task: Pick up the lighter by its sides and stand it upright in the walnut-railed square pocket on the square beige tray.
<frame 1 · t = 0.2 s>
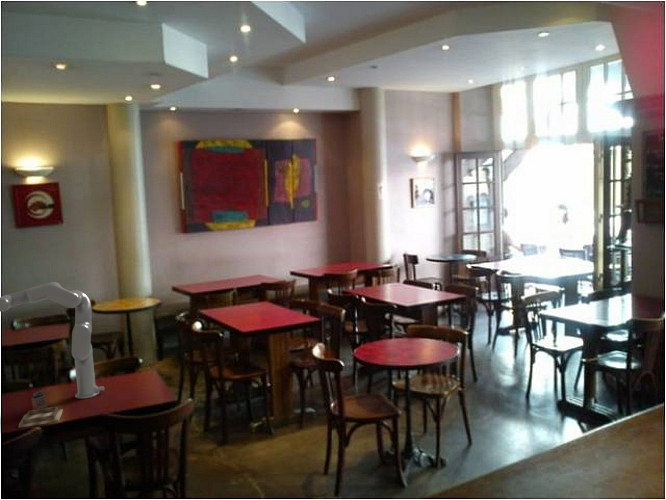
square beige tray: (41, 419, 308), on the table
lighter: (40, 410, 322), on the table
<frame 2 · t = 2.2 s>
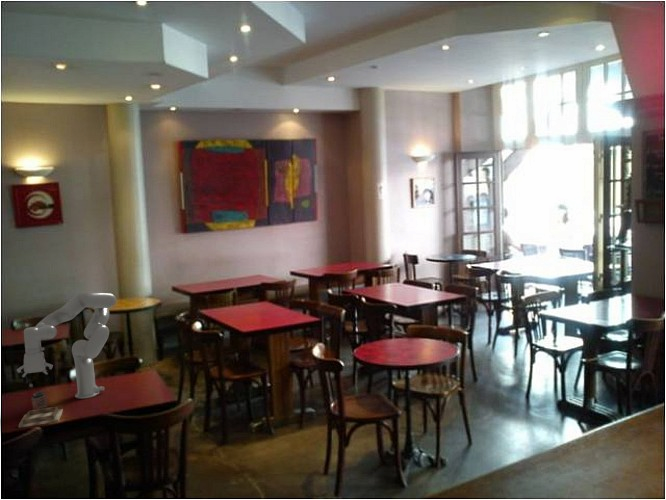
hand: (36, 382, 320), 15 cm above the table, tool pointing down, fingers open, 9 cm apart
nothing on the table moved.
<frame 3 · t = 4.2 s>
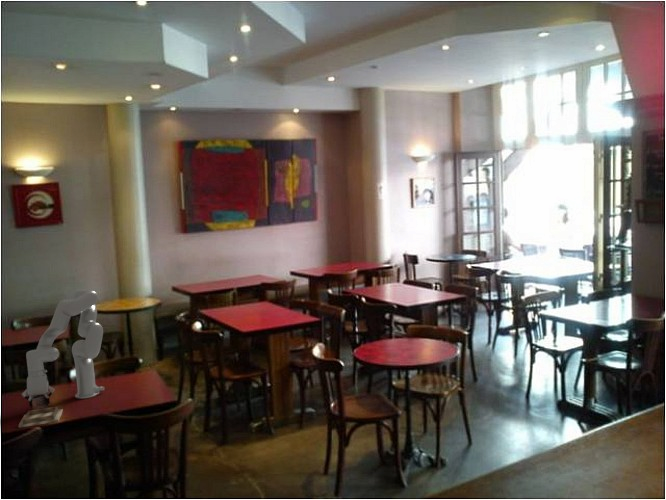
hand: (39, 405, 322), 2 cm above the table, tool pointing down, fingers closed on lighter, 6 cm apart
lighter: (40, 410, 322), on the table, touching gripper
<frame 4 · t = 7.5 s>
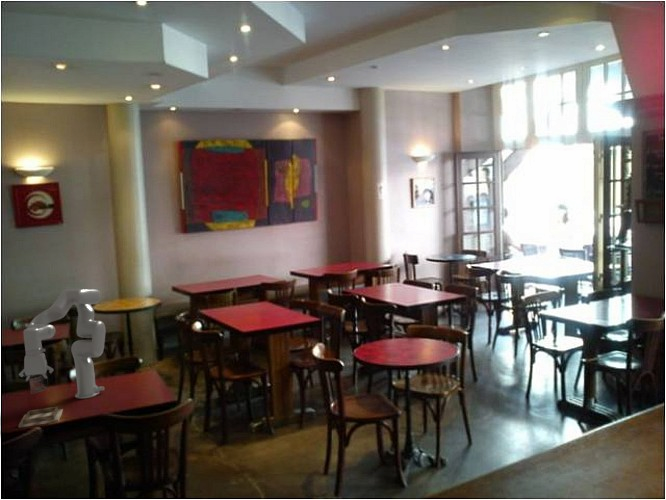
hand: (37, 386, 306), 17 cm above the table, tool pointing down, fingers closed on lighter, 6 cm apart
lighter: (38, 391, 306), point 15 cm above the table, touching gripper
when the fingers open (4 cm above the table, at t = 11.0 s): lighter stays where it is, resting on square beige tray.
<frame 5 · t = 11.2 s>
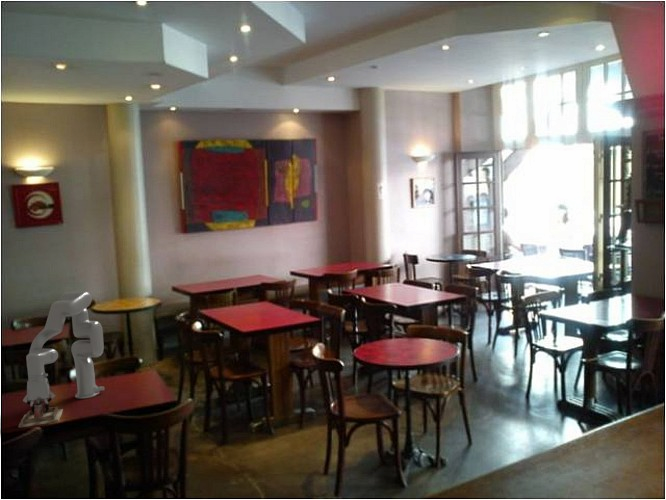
hand: (40, 411, 307), 4 cm above the table, tool pointing down, fingers open, 5 cm apart
lighter: (38, 418, 306), point 1 cm above the table, touching square beige tray
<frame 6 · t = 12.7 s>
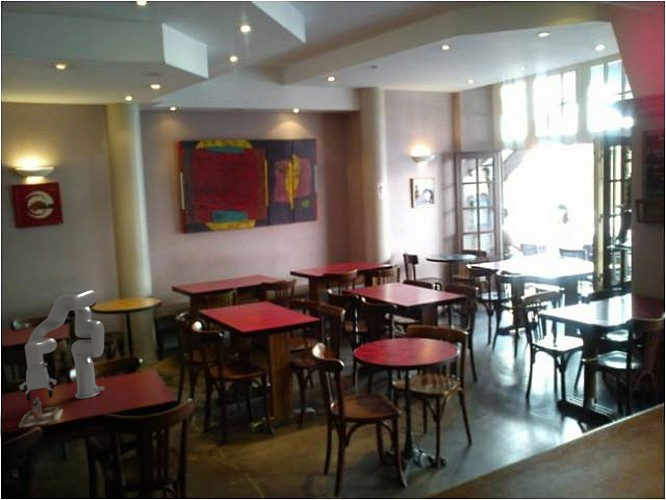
hand: (40, 399, 307), 10 cm above the table, tool pointing down, fingers open, 9 cm apart
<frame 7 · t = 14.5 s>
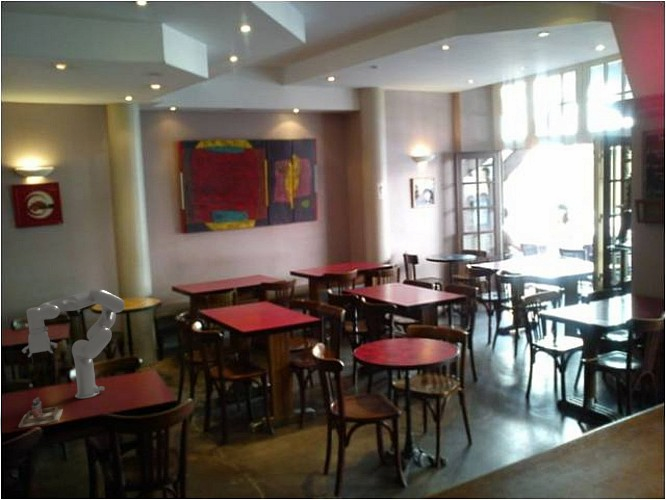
hand: (42, 361, 324), 25 cm above the table, tool pointing down, fingers open, 9 cm apart
nothing on the table moved.
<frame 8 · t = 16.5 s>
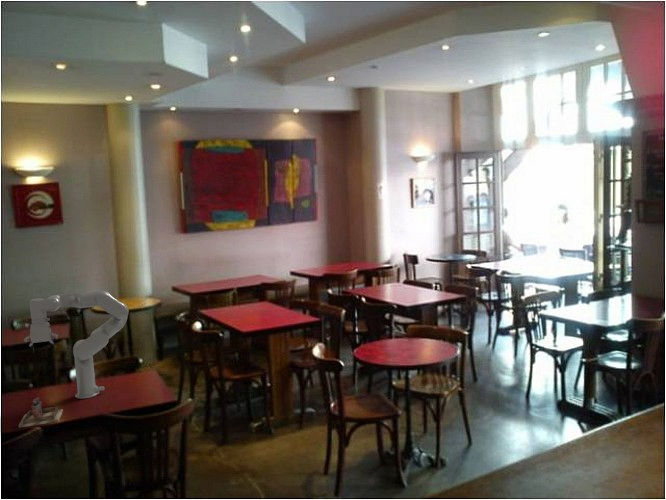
hand: (42, 351, 333), 28 cm above the table, tool pointing down, fingers open, 9 cm apart
nothing on the table moved.
at the end: lighter inside the target area on the square beige tray (1.9 cm from its centre), point 1.0 cm above the square beige tray's base; lighter tilted 0°; the gripper is holding nothing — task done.
